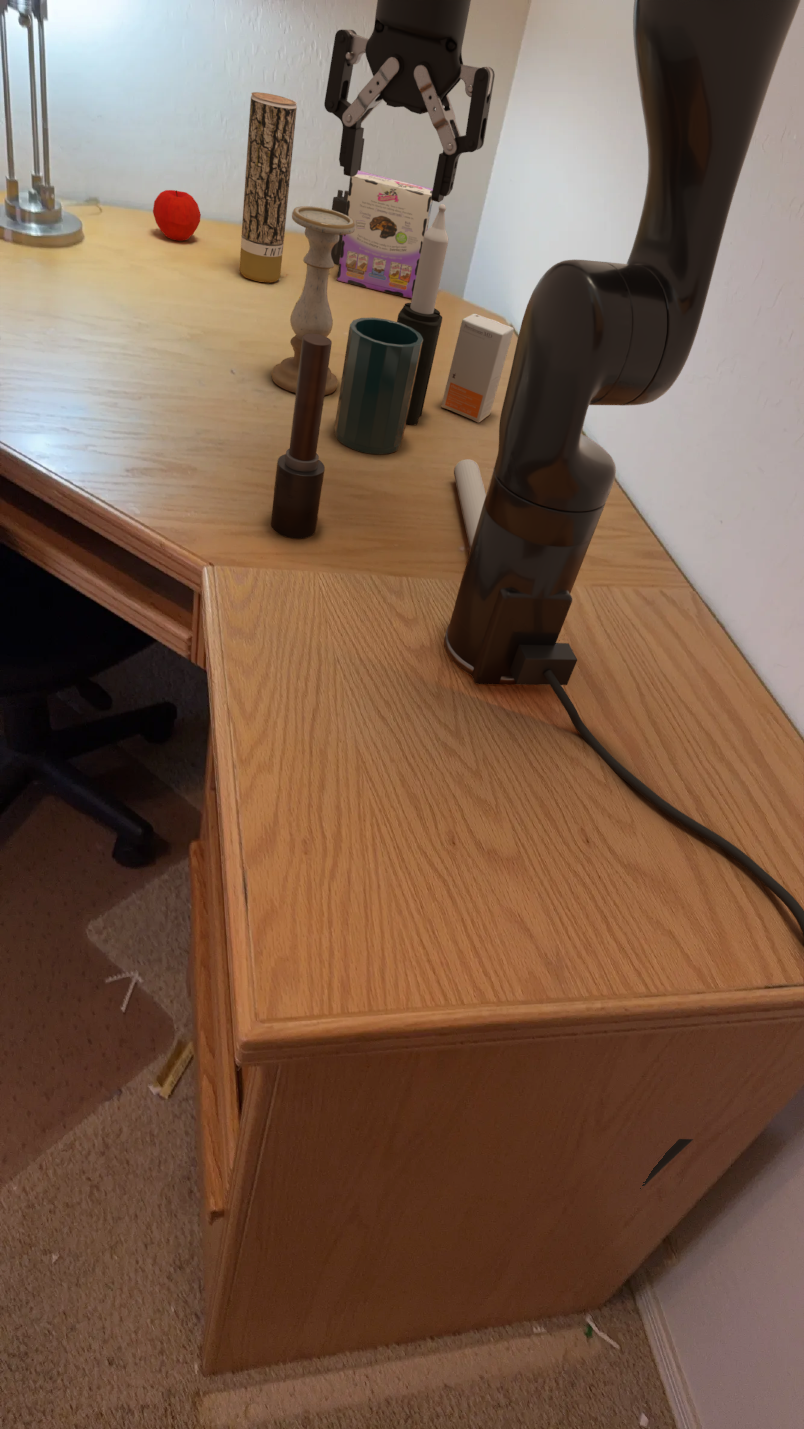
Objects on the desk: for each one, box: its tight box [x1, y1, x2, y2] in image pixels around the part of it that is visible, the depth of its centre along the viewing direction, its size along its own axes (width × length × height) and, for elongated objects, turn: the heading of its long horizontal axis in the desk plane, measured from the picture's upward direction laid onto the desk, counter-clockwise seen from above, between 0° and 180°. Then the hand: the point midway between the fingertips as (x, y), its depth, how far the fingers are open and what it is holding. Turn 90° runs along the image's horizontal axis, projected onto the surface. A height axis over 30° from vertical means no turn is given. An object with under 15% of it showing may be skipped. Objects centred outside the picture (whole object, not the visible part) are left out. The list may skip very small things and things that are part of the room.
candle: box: [396, 203, 449, 426], centre depth 108 cm, size 5×5×25 cm
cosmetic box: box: [441, 312, 515, 423], centre depth 117 cm, size 6×4×12 cm
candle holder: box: [271, 205, 355, 396], centre depth 111 cm, size 9×9×20 cm
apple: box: [152, 189, 202, 242], centre depth 151 cm, size 8×8×7 cm
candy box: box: [336, 170, 434, 299], centre depth 150 cm, size 14×6×16 cm, turn 82°
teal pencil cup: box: [333, 317, 423, 455], centre depth 104 cm, size 8×8×13 cm
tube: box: [453, 458, 487, 550], centre depth 94 cm, size 3×3×25 cm
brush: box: [270, 334, 333, 540], centre depth 84 cm, size 5×5×19 cm
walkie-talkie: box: [331, 137, 365, 266], centre depth 155 cm, size 5×3×20 cm
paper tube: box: [238, 91, 298, 283], centre depth 138 cm, size 7×7×25 cm
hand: (393, 187), depth 81 cm, fingers open, 8 cm apart
